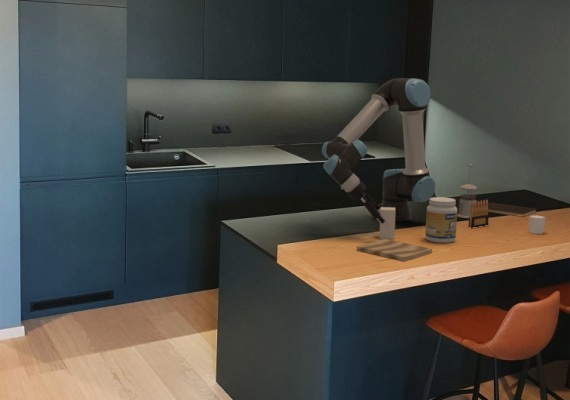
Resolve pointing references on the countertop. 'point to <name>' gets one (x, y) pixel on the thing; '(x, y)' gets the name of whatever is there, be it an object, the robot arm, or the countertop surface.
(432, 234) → the supplement tub
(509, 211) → the hardcover book
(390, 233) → the off-white block
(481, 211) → the ammunition clip
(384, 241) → the wooden board
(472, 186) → the french press
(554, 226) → the countertop surface
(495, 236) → the countertop surface
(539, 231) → the white cup
